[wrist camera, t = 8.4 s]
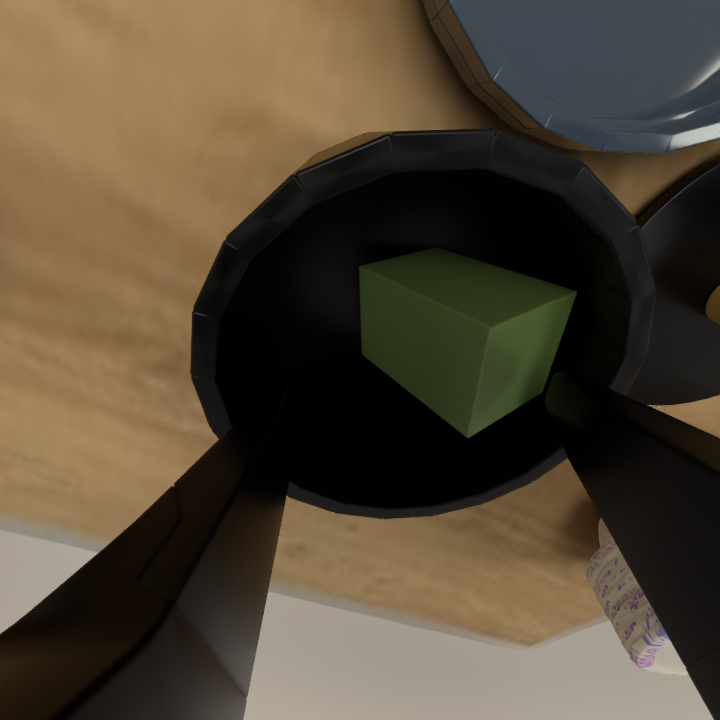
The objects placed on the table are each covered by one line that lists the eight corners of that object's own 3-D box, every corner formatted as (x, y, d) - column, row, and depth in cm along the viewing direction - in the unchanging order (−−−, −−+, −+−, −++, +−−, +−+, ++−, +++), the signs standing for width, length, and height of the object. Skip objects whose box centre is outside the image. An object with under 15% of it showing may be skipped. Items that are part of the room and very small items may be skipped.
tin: (577, 190, 13) (778, 238, 7) (451, 408, 19) (502, 534, 13) (277, 78, 11) (199, 11, 5) (240, 366, 16) (185, 495, 11)
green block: (436, 246, 13) (578, 290, 9) (428, 328, 15) (542, 392, 11) (358, 265, 12) (491, 328, 8) (361, 354, 14) (467, 439, 10)
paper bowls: (711, 550, 29) (820, 673, 22) (536, 561, 29) (595, 689, 22) (851, 420, 21) (1091, 555, 14) (606, 432, 20) (735, 577, 14)
